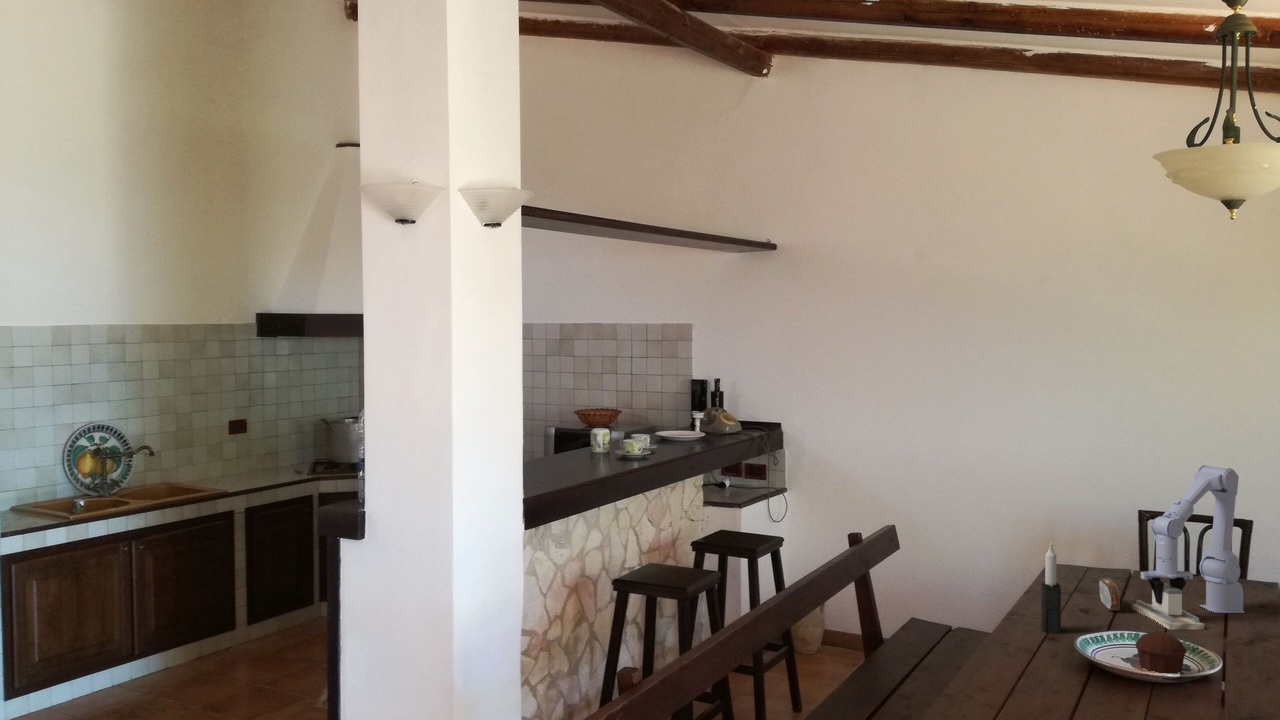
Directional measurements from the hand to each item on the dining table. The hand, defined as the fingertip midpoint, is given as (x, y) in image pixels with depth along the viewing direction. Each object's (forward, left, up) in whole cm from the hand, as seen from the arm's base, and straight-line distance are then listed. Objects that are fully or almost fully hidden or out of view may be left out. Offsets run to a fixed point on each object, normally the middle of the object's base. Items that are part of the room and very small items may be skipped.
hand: (1166, 603), depth 295 cm
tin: (+11, -13, -5) cm, 18 cm away
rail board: (0, 0, -5) cm, 5 cm away
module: (0, 0, -2) cm, 2 cm away
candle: (+39, +11, -5) cm, 41 cm away
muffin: (+27, +48, -5) cm, 55 cm away
